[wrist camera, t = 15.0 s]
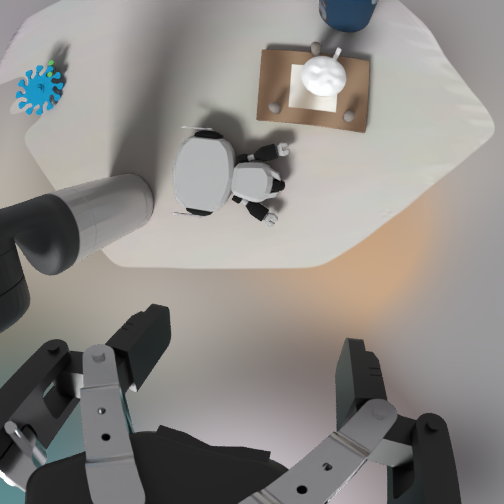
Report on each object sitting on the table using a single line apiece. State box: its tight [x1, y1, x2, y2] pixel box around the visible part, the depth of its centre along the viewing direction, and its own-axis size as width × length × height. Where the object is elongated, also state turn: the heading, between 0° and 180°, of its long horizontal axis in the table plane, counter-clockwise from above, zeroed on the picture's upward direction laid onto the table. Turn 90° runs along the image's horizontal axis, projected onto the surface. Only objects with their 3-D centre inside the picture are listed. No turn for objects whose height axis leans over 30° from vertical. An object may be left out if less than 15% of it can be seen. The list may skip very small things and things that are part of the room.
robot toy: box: [172, 126, 290, 226], centre depth 39 cm, size 12×4×15 cm
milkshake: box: [301, 47, 346, 102], centre depth 28 cm, size 4×5×10 cm
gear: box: [16, 60, 64, 115], centre depth 38 cm, size 11×6×10 cm
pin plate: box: [256, 42, 370, 133], centre depth 32 cm, size 14×11×4 cm
